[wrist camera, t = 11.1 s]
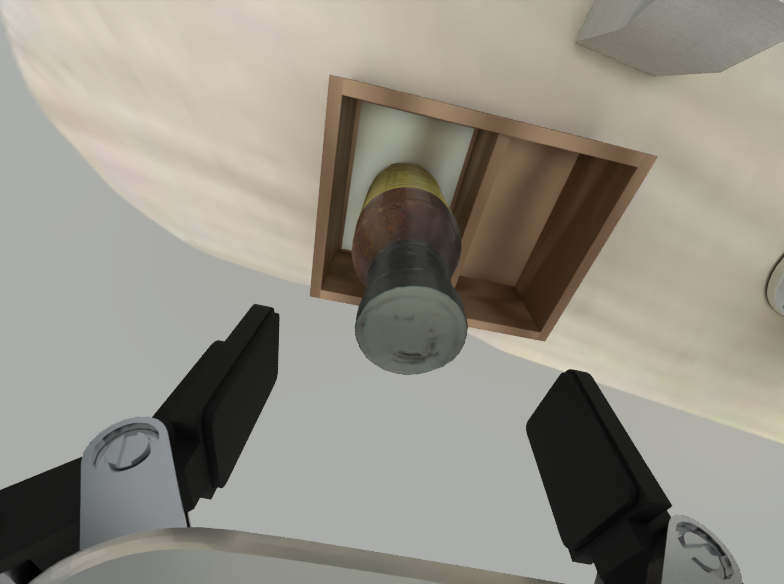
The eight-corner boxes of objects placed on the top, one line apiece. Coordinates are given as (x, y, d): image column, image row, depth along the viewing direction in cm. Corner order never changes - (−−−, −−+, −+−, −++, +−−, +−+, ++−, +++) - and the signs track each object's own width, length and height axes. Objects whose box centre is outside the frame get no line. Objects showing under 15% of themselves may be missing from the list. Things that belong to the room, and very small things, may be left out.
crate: (592, 139, 26) (657, 156, 19) (517, 291, 34) (544, 341, 27) (350, 79, 25) (329, 74, 18) (329, 253, 32) (309, 296, 26)
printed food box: (654, 76, 24) (790, 68, 15) (574, 42, 23) (672, 14, 15) (692, 14, 22) (872, -34, 14) (607, -25, 21) (743, -103, 13)
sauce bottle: (412, 242, 31) (422, 425, 14) (355, 206, 29) (287, 365, 12) (456, 183, 28) (536, 326, 11) (395, 139, 26) (379, 228, 9)
